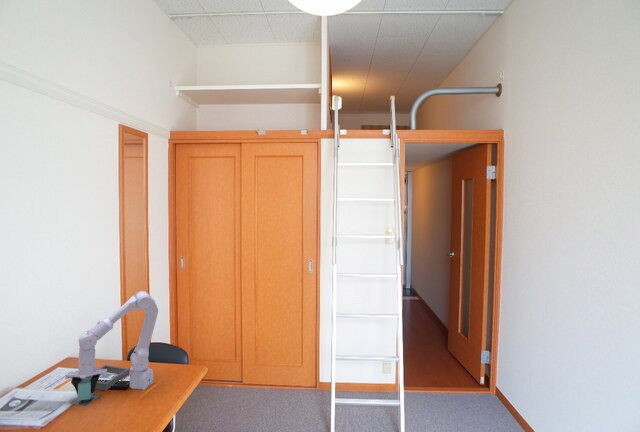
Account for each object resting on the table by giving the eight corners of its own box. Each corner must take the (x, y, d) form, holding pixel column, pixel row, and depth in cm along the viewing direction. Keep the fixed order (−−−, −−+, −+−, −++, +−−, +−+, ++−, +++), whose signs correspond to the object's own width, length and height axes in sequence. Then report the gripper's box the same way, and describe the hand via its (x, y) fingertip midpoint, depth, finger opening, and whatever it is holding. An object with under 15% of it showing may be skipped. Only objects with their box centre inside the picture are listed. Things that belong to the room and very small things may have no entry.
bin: (129, 376, 155) (129, 368, 155) (105, 392, 141) (105, 384, 141) (105, 372, 157) (105, 364, 157) (79, 388, 143) (79, 379, 143)
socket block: (93, 393, 137) (94, 377, 137) (89, 399, 133) (90, 382, 133) (82, 394, 136) (82, 378, 136) (77, 400, 132) (78, 384, 132)
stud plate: (101, 397, 138) (102, 387, 138) (85, 408, 130) (85, 398, 130) (86, 394, 139) (86, 384, 139) (68, 405, 131) (69, 395, 131)
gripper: (62, 368, 128) (61, 400, 129) (103, 364, 133) (102, 396, 133) (69, 359, 135) (69, 391, 135) (108, 356, 139) (108, 386, 140)
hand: (86, 392), depth 135 cm, fingers closed on socket block, 4 cm apart
